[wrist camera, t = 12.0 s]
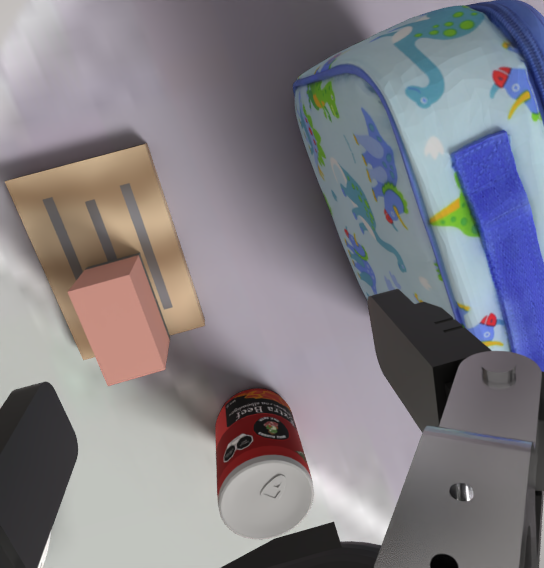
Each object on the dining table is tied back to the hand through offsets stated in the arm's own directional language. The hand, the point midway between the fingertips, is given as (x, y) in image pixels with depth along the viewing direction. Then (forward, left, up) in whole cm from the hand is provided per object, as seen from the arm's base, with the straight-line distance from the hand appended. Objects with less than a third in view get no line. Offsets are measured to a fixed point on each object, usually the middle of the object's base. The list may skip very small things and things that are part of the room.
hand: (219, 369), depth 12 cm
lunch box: (+5, +15, -31) cm, 35 cm away
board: (+3, -9, -31) cm, 32 cm away
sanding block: (+7, -9, -29) cm, 31 cm away
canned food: (+23, -2, -31) cm, 38 cm away
